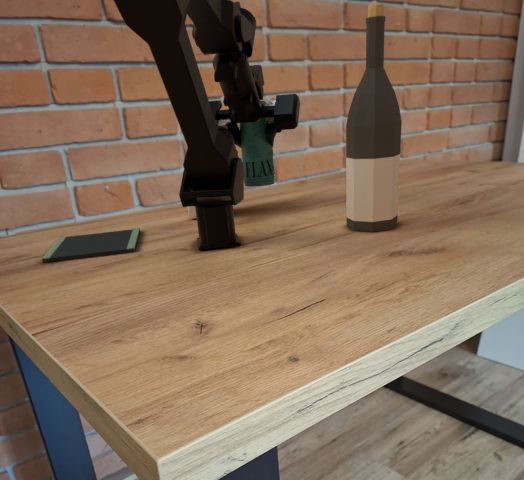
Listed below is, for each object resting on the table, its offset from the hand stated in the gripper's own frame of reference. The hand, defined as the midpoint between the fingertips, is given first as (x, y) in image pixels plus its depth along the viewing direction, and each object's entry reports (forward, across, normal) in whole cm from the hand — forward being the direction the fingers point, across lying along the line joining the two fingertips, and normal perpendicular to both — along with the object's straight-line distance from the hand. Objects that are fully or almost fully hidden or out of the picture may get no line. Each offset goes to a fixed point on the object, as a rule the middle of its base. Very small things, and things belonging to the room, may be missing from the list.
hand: (258, 146), depth 101 cm
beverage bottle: (+5, 0, +7) cm, 9 cm away
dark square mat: (-13, +21, +30) cm, 39 cm away
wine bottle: (-6, -23, +23) cm, 33 cm away
